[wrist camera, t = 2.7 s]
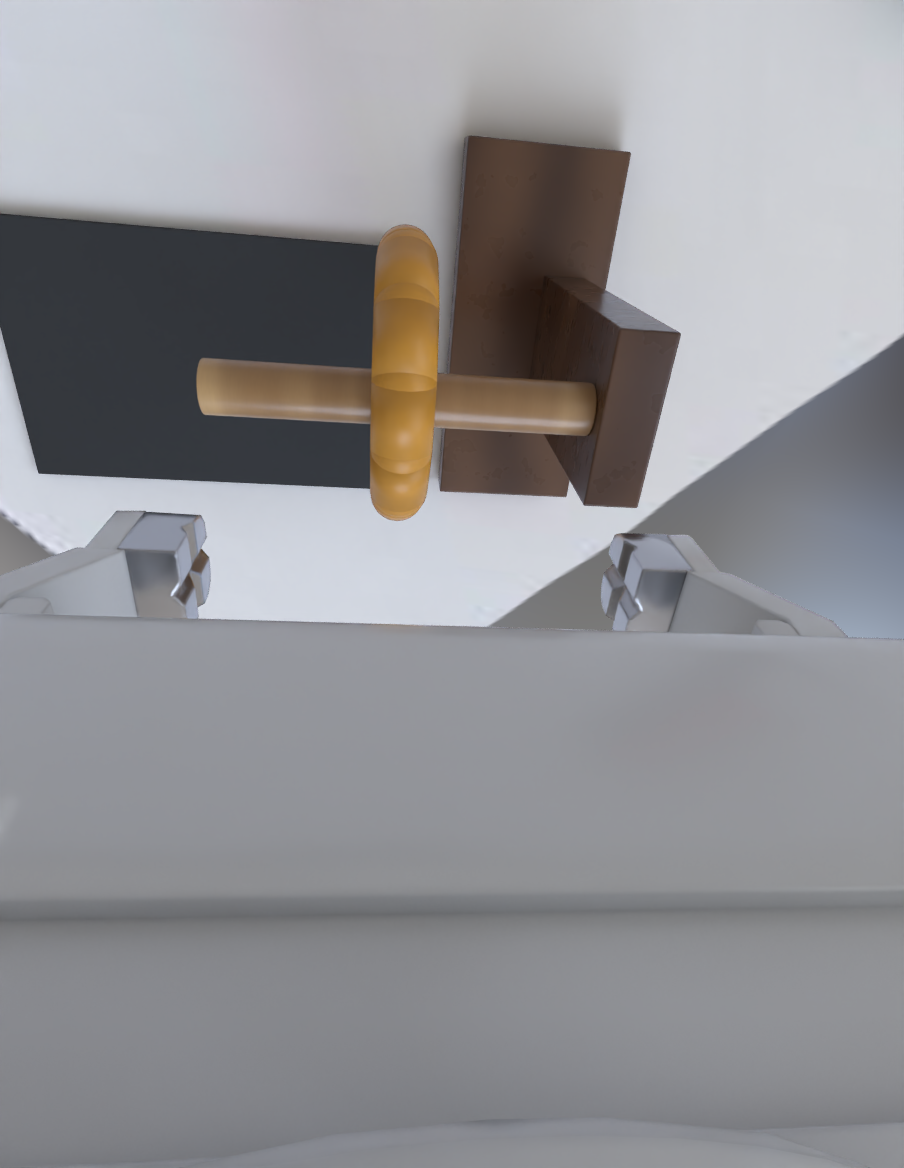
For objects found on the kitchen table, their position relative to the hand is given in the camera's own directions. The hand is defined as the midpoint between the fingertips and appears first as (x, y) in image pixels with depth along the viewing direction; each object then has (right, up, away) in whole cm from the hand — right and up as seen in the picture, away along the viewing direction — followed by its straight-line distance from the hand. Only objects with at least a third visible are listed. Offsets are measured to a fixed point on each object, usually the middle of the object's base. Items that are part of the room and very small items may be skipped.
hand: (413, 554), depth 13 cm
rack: (0, +12, +19) cm, 23 cm away
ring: (-1, +7, +11) cm, 13 cm away
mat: (-11, +10, +20) cm, 25 cm away
